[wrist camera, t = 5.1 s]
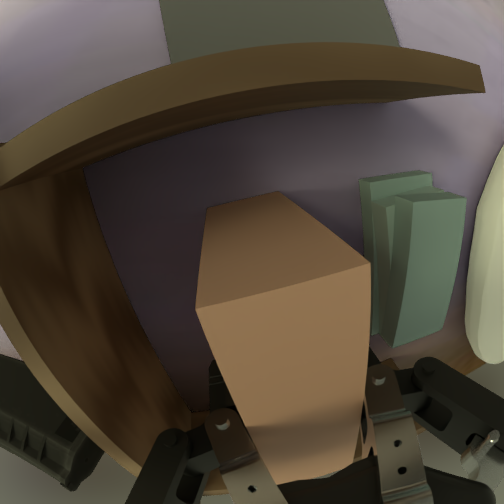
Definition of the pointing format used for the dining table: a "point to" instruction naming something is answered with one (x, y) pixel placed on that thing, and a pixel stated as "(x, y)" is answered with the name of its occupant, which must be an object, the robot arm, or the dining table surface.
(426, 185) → the offcut stack
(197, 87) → the walnut rack
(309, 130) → the dining table surface
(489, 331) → the plate
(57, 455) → the magazine
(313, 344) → the tan block
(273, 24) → the charcoal mat
